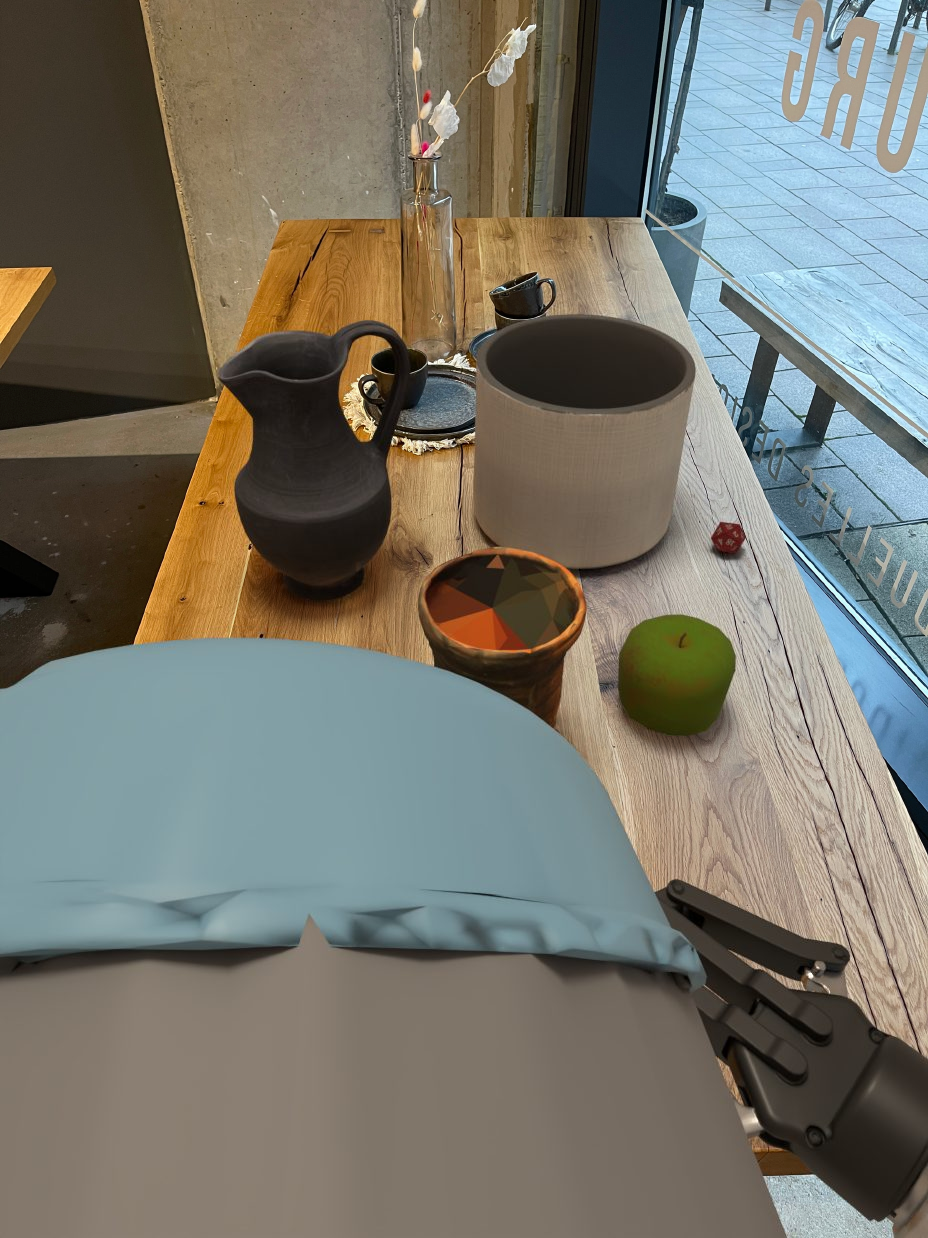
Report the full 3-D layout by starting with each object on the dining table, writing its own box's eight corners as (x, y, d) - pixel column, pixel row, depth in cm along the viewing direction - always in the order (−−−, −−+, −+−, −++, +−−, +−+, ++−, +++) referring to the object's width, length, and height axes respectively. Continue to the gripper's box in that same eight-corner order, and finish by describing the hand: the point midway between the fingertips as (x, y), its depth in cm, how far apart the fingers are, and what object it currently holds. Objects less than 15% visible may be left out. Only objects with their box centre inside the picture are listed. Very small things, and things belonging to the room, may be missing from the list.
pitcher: (234, 556, 113) (185, 323, 93) (388, 511, 120) (374, 286, 100) (280, 641, 101) (235, 397, 81) (447, 586, 109) (444, 349, 89)
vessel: (581, 802, 85) (603, 647, 72) (429, 814, 84) (422, 659, 71) (556, 691, 96) (571, 538, 83) (420, 700, 95) (413, 546, 82)
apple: (710, 671, 98) (730, 594, 91) (731, 749, 90) (755, 671, 83) (607, 670, 98) (618, 593, 91) (618, 748, 90) (632, 670, 83)
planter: (624, 453, 131) (644, 302, 116) (702, 559, 112) (738, 397, 98) (452, 478, 126) (450, 324, 111) (505, 593, 108) (511, 428, 93)
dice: (703, 541, 115) (709, 515, 112) (738, 540, 115) (745, 514, 113) (711, 560, 112) (717, 534, 110) (747, 559, 113) (754, 533, 110)
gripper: (835, 1304, 41) (456, 958, 53) (952, 1084, 48) (594, 823, 60) (889, 1258, 36) (456, 886, 48) (1011, 1020, 43) (607, 748, 55)
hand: (533, 851), depth 54 cm, fingers closed
